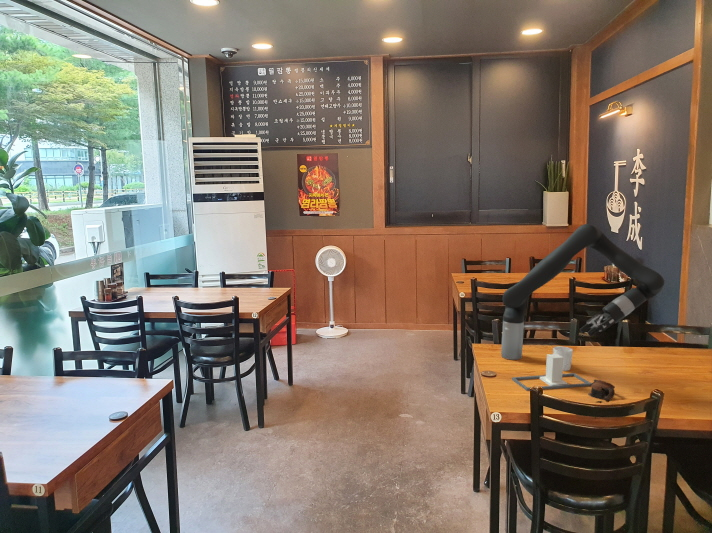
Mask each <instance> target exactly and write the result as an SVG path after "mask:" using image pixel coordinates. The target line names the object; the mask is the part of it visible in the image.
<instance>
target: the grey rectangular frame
mask: <svg viewBox="0 0 712 533" xmlns="http://www.w3.org/2000/svg"><path fill="white" fill-rule="evenodd" d="M542 376H546V374H541V375H529V376H528V375H527V376H525V375H524V376H514V377H513V376H511V380H512V382H514V383H515V384H517V385H518V386H519V387H521V388H522V389H524V390H525V391H527V392H528V391H529V390H530V388H531V387H532V386H529V387H528V386H526V385H525V384H523V383H522V382H521V381H522V380H523V381H524V380H534V379H535V380H536V379H537V380H538V379H539V380H540V377H542ZM564 377H565V378H567V377H573V378H574V377H575V378H576V379H578V380H580V381H581V382H583V383H571V384H570V383H568V385H555V386H549V385H543V386H540V387H542V388H543V391H545V390H554V389H557V390H558V389H566V388H567V389H570V388H580V387H581V388H582V387H583V388H584V387H591V386H590V384H591V383H592V382H590V381H588V380H587V379H586V378H583V377H581V376H580V375H579V374H577V373H575V372H571V373H569V372H568V373H563V374H562V378H564ZM530 391H531V390H530Z"/></svg>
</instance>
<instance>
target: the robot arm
mask: <svg viewBox="0 0 712 533" xmlns="http://www.w3.org/2000/svg"><path fill="white" fill-rule="evenodd" d="M588 247H589V248H591V249H593V250H595V251H596V252H599V253H600V254H601V255H603V256H604V257H605V258H606V259H607V260H608V262H610V263H611V264H613V266H614V267H616V269H618V270H619V271H620V272H622V273H623V274H624V275H626V276H627V277H629V279H631V280H637V281H639V282H640V284H639V285H637V286H636V287H633V288H631V289H628V290H627V291H625V293H623V294H621V295H620V296H618V297H616V298H614V299H613V300H612V301H610V302H609V303H608V304H606V305H605V306H604V307H602V312H603V313H602V314H599V313H596V314H594V315H593V316H592V317H590V318H589V319H588V320H586V324H584V325H583V326H582V327H581V328H579V331H580V333H581V334H585V333H586V332H587V335H588V336H589V337H591V338H592V337H594V336H595V335H596V334H597V333H599V332H600V333H601V332H605V331H606V330H608V328H610V327H611V326H613V325H614V324H617V323H618V322H620V321H621V320H623V319H624V318H626V317H627V316H628V315H630V314H632V312H633V311H634V310H635V309H636V308H638V307H640V306H641V305H642V304H643V303H645V302H646V301H649V300H650V299H652V298H654V297H655V296H657V295H659V293H661V291H662V290H663V287H664V285H665V279H664V278H663V276H662V275H661V274H660V273H659V272H657V271H656V270H654V269H652V268H650V267H648V266H646V265H643V264H642V263H641V262H640V261H639V260H637V259H635V257H633V256H632V255H630V254H629V253H627V252H626V251H624V250H623V249H621V248H620V247H619V246H617V245H616V244H615V243H613V241H612V240H610V239H609V238H608V236H606V235H605V233H603V231H602V230H601V229H600V228H599V227H598V226H596V225H594V224H591V223H585V224H581V225H580V226H578V227H577V228H576V229H575V231H574V232H572V234H570V236H568V238H567V239H566V240H564V242H563V243H561V244H560V245H559V246H558V247H556V248H555V249H553V251H551V252H550V253H549V254H547V255H545V257H544V258H542V260H540V261H539V262H538V263H536V265H535V266H534V267H533V268H532V269H530V271H529V272H528V273H526V275H525V276H524V277H523V278H522V279H520V281H518V282H517V283H515V284H514V285H512V286H511V287H509V288H507V289H506V290H505V291H504V292H503V294H502V302H503V305H504V307H505V309H504V312H503V315H502V335H501V347H500V348H501V351H500V353H501V356H500V357H502V358H503V359H507V360H513V361H514V360H518V361H519V360H521V359H522V357H523V343H524V342H523V340H524V324H525V322H524V320H525V315H526V310H527V309H526V306H527V299H528V298H529V296H531V295H532V294H533V293H534V292H535V291H537V290H539V289H540V288H542V287H543V286H545V285H546V284H547V283H549V282H551V281H553V279H554V278H556V277H557V276H558V275H559V274H560V273H562V272H563V271H564V270H565V269H566V268H567V266H568V265H569V264H570V262H571V261H572V259H573V258H575V256H576V255H577V254H578V253H580V252H582V251H583V250H584V249H586V248H588Z"/></svg>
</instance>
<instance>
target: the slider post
mask: <svg viewBox="0 0 712 533" xmlns="http://www.w3.org/2000/svg"><path fill="white" fill-rule="evenodd" d="M563 359H564V357H562V356H560V355H558V354H553V353H551V354H548V353H547V354H546V365H545V375H546V376H542V377H540V378H539V380H540V381H542V382H544V384H546V385H547V386H555V385H568V384H569V383H568V382H567V381H565V380H563V377H562V374H564V371H563Z"/></svg>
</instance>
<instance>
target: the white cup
mask: <svg viewBox="0 0 712 533" xmlns="http://www.w3.org/2000/svg"><path fill="white" fill-rule="evenodd" d="M573 351H574V350H573V348H571V347H567V346H554V347H553V348H552V354H558V355H560V356H562V357H564V359H563V372H566V371H567V372H568V371H570V370H571V367H572V360H573Z"/></svg>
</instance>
